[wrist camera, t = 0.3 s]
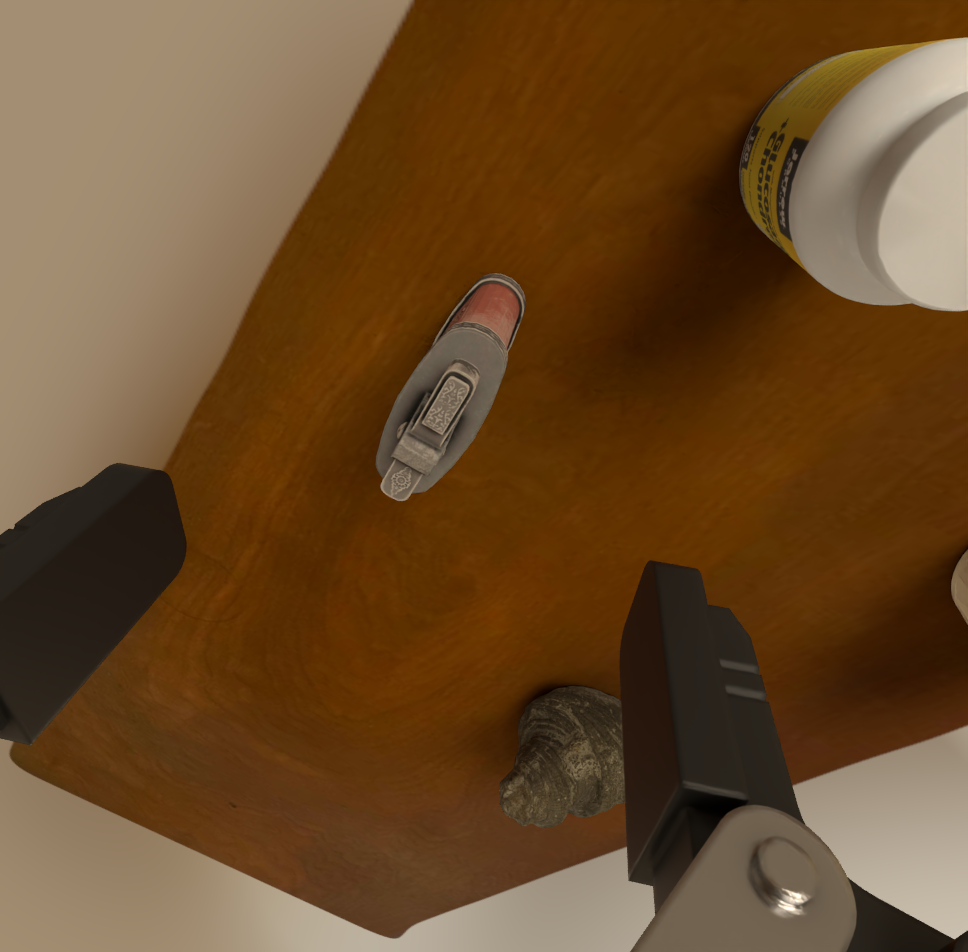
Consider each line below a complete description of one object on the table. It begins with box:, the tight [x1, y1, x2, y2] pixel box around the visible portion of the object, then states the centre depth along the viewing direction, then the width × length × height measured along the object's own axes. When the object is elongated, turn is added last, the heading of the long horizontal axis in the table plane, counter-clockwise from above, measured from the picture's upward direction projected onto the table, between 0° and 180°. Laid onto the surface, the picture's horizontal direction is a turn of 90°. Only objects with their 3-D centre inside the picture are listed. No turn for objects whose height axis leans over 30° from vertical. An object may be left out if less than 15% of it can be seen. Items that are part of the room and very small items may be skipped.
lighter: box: [376, 273, 526, 501], centre depth 25 cm, size 8×3×10 cm, turn 151°
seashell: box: [499, 686, 625, 828], centre depth 40 cm, size 11×12×10 cm
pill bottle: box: [739, 38, 968, 311], centre depth 18 cm, size 6×6×12 cm
